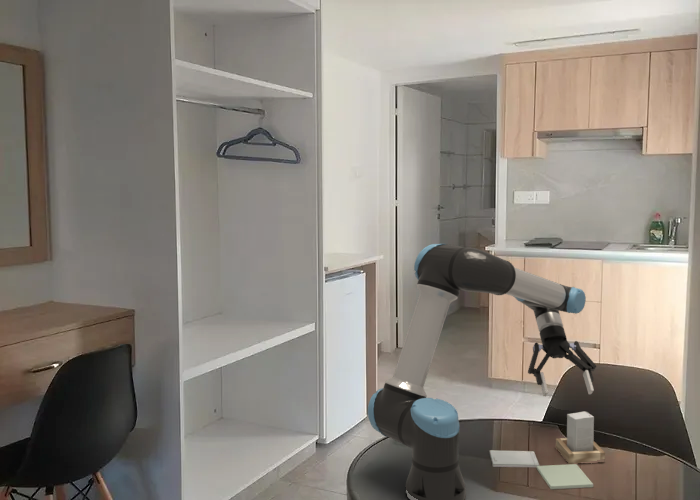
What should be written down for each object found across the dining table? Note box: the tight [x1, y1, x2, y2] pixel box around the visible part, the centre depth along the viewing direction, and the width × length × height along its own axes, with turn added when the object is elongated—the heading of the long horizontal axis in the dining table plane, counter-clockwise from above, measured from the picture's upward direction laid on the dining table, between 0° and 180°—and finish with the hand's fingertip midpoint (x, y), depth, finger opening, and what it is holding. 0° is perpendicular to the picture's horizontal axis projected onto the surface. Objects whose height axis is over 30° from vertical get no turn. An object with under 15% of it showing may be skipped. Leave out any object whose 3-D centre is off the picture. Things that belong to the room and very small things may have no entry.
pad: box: [536, 463, 594, 490], centre depth 173 cm, size 11×11×1 cm
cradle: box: [555, 437, 606, 465], centre depth 185 cm, size 10×10×3 cm
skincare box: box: [566, 411, 595, 452], centre depth 185 cm, size 6×4×12 cm
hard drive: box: [488, 449, 540, 468], centre depth 184 cm, size 2×8×12 cm
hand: (568, 393), depth 193 cm, fingers open, 13 cm apart
